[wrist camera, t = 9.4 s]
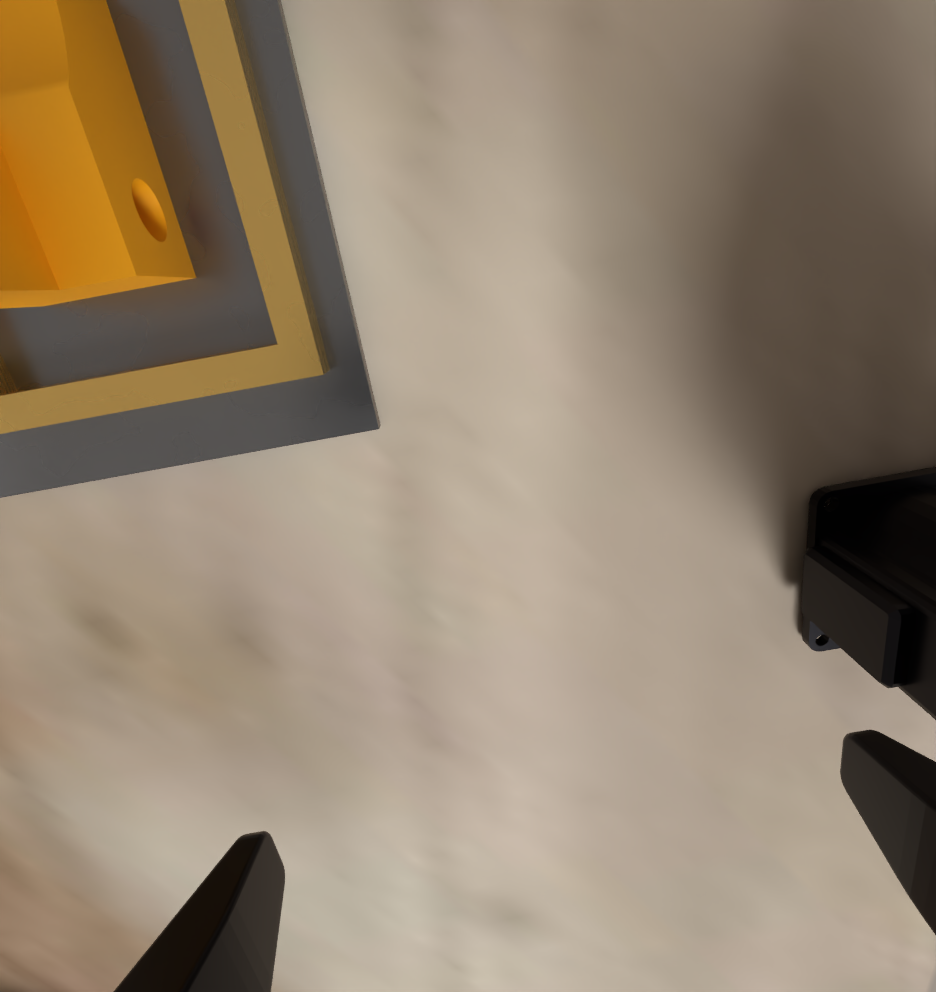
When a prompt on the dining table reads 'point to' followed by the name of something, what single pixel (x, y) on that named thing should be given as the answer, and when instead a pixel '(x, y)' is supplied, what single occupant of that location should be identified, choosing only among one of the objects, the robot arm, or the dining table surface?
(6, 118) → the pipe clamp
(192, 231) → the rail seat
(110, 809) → the dining table surface
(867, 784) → the robot arm
